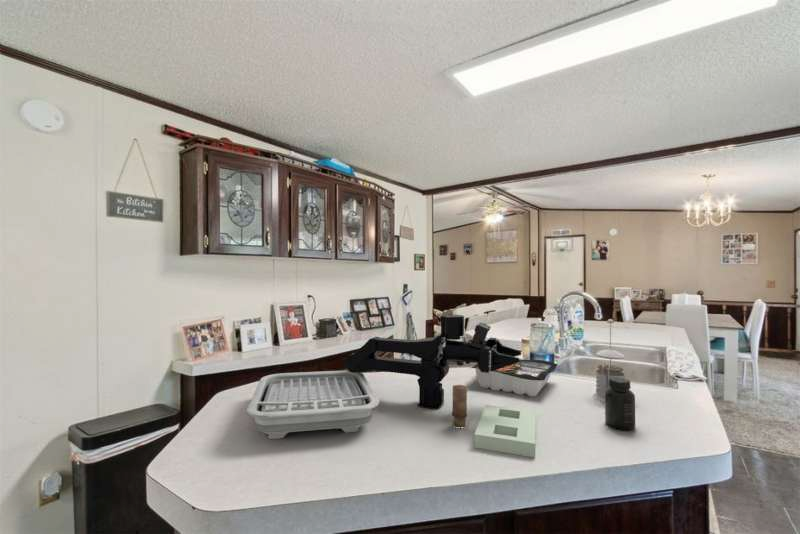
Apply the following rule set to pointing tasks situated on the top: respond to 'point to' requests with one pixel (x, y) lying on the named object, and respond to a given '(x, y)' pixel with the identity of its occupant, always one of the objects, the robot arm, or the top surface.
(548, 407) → the top surface
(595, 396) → the french press
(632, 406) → the supplement bottle
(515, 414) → the board
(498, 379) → the food packaging
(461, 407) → the peg
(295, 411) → the dish rack
